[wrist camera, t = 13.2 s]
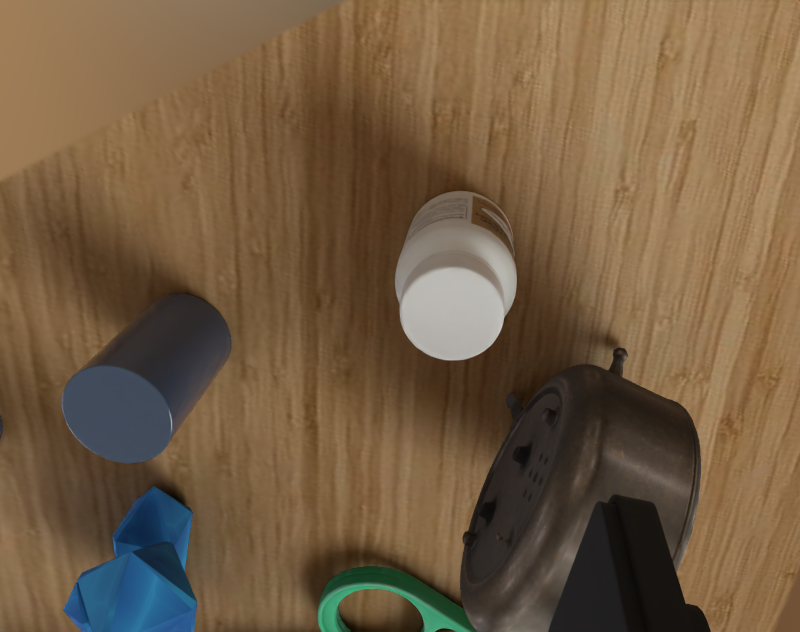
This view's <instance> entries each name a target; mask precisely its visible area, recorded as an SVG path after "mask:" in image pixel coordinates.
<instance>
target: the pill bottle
mask: <svg viewBox="0 0 800 632" xmlns="http://www.w3.org/2000/svg"><path fill="white" fill-rule="evenodd" d="M516 288H517V273H516V264H515V252H514V241H513V233H512V229H511V226H510V224H509V221H508V219H507V217H506V215H505V214H504V212H503V211H502V210H501V209H500V208H499V207H498V206H497V205H496V204H495V203H494V202H492V201H491V200H489V199H488V198H486V197H484V196H482V195H479V194H477V193H473V192H468V191H453V192H448V193H444V194H441V195H439V196H437V197H435V198H433V199H431V200H430V201H428V202H427V203H426V204H425V205H424V206H423V207H422V208H421V209H420V210H419V211H418V212H417V214H416V215H415V217H414V219H413V221H412V223H411V226H410V228H409V231H408V233H407V236H406V240H405V243H404V245H403V248H402V251H401V254H400V257H399V260H398V264H397V268H396V274H395V289H396V294H397V298H398V301H399V303H400V320H401V324H402V327H403V329H404V332H405V334H406V335H407V337H408V338H409V340H410V341H411V342H412V343H413V344H414V345H415V346H416V347H417V348H418V349H420V350H421V351H423V352H424V353H426V354H428V355H430V356H432V357H435V358H438V359H442V360H465V359H468V358H471V357H474V356H476V355H478V354H480V353H482V352H483V351H485V350H486V349H487V348H489V347H490V346H491V345H492V344H493V342H494V341H495V340H496V338H497V337H498V335H499V333H500V331H501V328H502V326H503V321H504V317H505V316H506V315H507V313H508V312H509V310H510V308H511V306H512V304H513V301H514V298H515V294H516Z"/></svg>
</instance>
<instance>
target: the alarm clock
mask: <svg viewBox="0 0 800 632" xmlns="http://www.w3.org/2000/svg"><path fill="white" fill-rule="evenodd" d="M627 356H628V354H627V351H626V350H625V349H624V348H617V349H615V350H614V352H613V358H614V359H613V362H612V364H611V367H610V369H609V371H607V370H605V369H603V368H601V367H598V366H595V365H590V364H581V365H576V366H573V367H570V368H568V369H565V370H563V371H561V372H559V373H558V374H556V375H555V376H553V377H552V378H551V379H550V380H548V381H547V382H546V383H545V384H544V385H543V386H542V387H541V388H540V389H539V390H538V392H537V393H536V394H535V395H534V396H533V398H532V399H531V400H530V401H529V403H528V404H527V405H526V407H525V408H523V407H522V405H521V403H520V401H519V400H518V398H517V397H516V396H515V395H513V394H509V395H508V396H507V398H506V403H507V406H508V408H509V409H510V411H511V413H512V416H513V423H512V425H511V427H510V432H509V433H508V435H507V437H506V439H505V441H504V442H503V444H502V446H501V448H500V450H499V452H498V454H497V456H496V458H495V460H494V462H493V464H492V466H491V469H490V471H489V473H488V476H487V478H486V480H485V483H484V485H483V488H482V491H481V493H480V496H479V499H478V501H477V504H476V507H475V510H474V513H473V516H472V519H471V523H470V526H469V530H468V531H467V532H465V533H464V535H463V543H464V544H465V546H464V551H463V558H462V564H461V576H460V589H461V598H462V603H463V607H464V610H465V613H466V615H467V617H468V619H469V621H470V623H471V625H472V626H473V627H474V628H475V629H476V631H477V632H548V631H549V627H550V624H551V621H552V618H553V616H554V613H555V610H556V608H557V605H558V602H559V600H560V597H561V594H562V592H563V589H564V586H565V583H566V581H567V578H568V575H569V573H570V570H571V567H572V565H573V562H574V559H575V557H576V554H577V551H578V549H579V546H580V543H581V541H582V538H583V535H584V533H585V530H586V527H587V525H588V522H589V519H590V517H591V514H592V511H593V509H594V506H595V504H596V503H597V502H598V501H601V502H606V503H608V501H609V499H610V497H611V496H612V495H614V494H617V495H622V496H627V497H631V498H636V499H641V500H646V501H651V502H653V503H654V504H655V506H656V508H657V511H658V515H659V518H660V521H661V524H662V528H663V531H664V534H665V538H666V541H667V544H668V548H669V551H670V554H671V557H672V561H673V564H674V567H675V571H676V572H677V570H678V568H679V565H680V563H681V560H682V558H683V556H684V553H685V551H686V549H687V545H688V541H689V538H690V535H691V533H692V528H693V523H694V520H695V515H696V509H697V504H698V499H699V489H700V478H701V455H700V444H699V438H698V434H697V431H696V428H695V426H694V423H693V420H692V418H691V417H690V415H689V413H688V412H687V410H686V409H685V408H684V407H683V406H681V405H680V404H679V403H677V402H675V401H673V400H670V399H666V398H664V397H662V396H660V395H657V394H655V393H653V392H651V391H649V390H647V389H645V388H643V387H641V386H639V385H637V384H635V383H632V382H630V381H628V380H626V379H624V378H622V374H623V361H625V360H626V358H627Z"/></svg>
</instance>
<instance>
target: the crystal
mask: <svg viewBox="0 0 800 632" xmlns="http://www.w3.org/2000/svg"><path fill="white" fill-rule="evenodd" d="M192 514H193V512H192V511H191V509H190V508H189V507H187V506H185V505H184V504H182V503H181V502H179V501H177V500H176V499H174V498H172V497H171V496H169V495H168V494H166V493H164V492H163V491H161V490H160V489H158V488H156V487H155V486H153V487H152V488H151V489H149V490H148V491H147V492H146V493H144V494H143V495H142V496H140V497H139V498H138V499H137V500H135V502H134V503H133V505H132V507H131V508H130V510H129V511H128V513H127V514H126V516H125V517H124V519H123V520H122V522H121V523H120V525H119V527H118V528H117V530H116V531H115V533H114V534H113V536H112V537H113V544H114V551H115V557H116V558H115V559H113V560H111V561H108V562H106V563H104V564H101V565H99V566H97V567H94V568H92V569H90V570H87V571H85V572H83V573H82V574H81V575H80V577H79V578H78V579H77V581H78V582H76V584H75V586H74V588H73V590H72V592H71V595H70V597H69V599H68V601H67V603H66V605H65V608H64V612H65V613H66V614H67V615H68V616H69V618H70V619H71V620H72V621H73V622H74V623H75V624H76V626H77V627H78V628H79V629H80V630H81V631H82V632H194V627H195V618H196V608H197V601H196V598H195V596H194V593H193V591H192V589H191V586H190V584H189V581H188V579H187V576H186V574H185V567H186V559H187V552H188V544H189V537H190V529H191V522H192Z"/></svg>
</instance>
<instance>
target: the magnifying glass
mask: <svg viewBox="0 0 800 632" xmlns="http://www.w3.org/2000/svg"><path fill="white" fill-rule="evenodd" d="M371 588H374V589H384V590H388V591H392V592H395V593H397V594H399V595H401V596H403V597H405V598H406V599H408V600H409V601H410V602H411V603H413V604H414V605H415V606H416V607H417V609H418V610H419V611H420V613H421V615H422V618H423V621H424V626H423V628H422V630H421V631H420V632H436V630H438V629H441V628H448V629H452V630H454V631H455V632H477V631H476V629H475V628H474V627H473V626H472V625H471V623H470V621H469V619H468V617H467V615H466V613H465V610H464V609H463V608H461V607H460V606H458V605H456V604H455V603H453V602H452V601H450V600H449V599H447V598H446V597H444V596H443V595H441V594H440V593H438V592H436V591H435V590H433V589H432V588H430V587H429V586H427V585H425V584H424V583H422V582H421V581H419V580H418V579H416V578H414V577H413V576H411V575H409V574H406V573H404V572H401V571H398V570H395V569H392V568H385V567H378V566H364V567H357V568H352V569H349V570H346V571H343V572H341V573H340V574H338V575H336V576H335V577H333V578H332V579H331V580H330V581H329V582H328V584H327V585H326V587H325V589H324V591H323V594H322V597H321V599H320V603H319V607H318V614H317V619H318V624H319V627H320V630H321V632H352V631H350V630H349V629H348V628H347V627H346V625H345V624H344V623H343V621H342V619H341V617H340V615H339V610H338V604H339V603H340V601H341V600H342V599H343V598H344V597H346V596H347V595H348V594H350V593H352V592H355V591H358V590H362V589H371Z"/></svg>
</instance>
